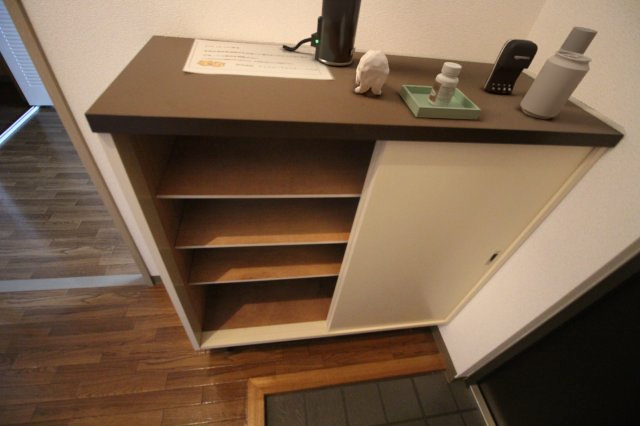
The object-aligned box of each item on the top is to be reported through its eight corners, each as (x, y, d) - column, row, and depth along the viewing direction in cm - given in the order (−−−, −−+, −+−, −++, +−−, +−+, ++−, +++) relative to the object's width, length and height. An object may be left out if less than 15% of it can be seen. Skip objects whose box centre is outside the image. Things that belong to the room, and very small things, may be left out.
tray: (416, 117, 56) (419, 107, 55) (399, 94, 64) (401, 84, 63) (476, 119, 58) (481, 109, 57) (452, 96, 66) (456, 87, 64)
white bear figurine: (362, 51, 54) (355, 41, 64) (355, 97, 60) (349, 81, 69) (395, 54, 55) (383, 44, 64) (384, 99, 60) (374, 83, 70)
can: (515, 102, 67) (549, 46, 59) (549, 110, 66) (589, 53, 57) (520, 115, 62) (558, 55, 53) (558, 123, 60) (602, 63, 52)
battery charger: (488, 94, 69) (514, 41, 61) (481, 88, 72) (506, 36, 64) (514, 96, 70) (544, 44, 62) (506, 90, 73) (534, 39, 65)
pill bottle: (426, 97, 62) (440, 59, 57) (446, 101, 62) (462, 63, 57) (428, 106, 59) (443, 66, 54) (449, 109, 59) (466, 70, 54)
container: (553, 105, 68) (603, 33, 58) (533, 101, 69) (579, 30, 58) (546, 97, 72) (592, 28, 61) (527, 94, 72) (569, 25, 61)
